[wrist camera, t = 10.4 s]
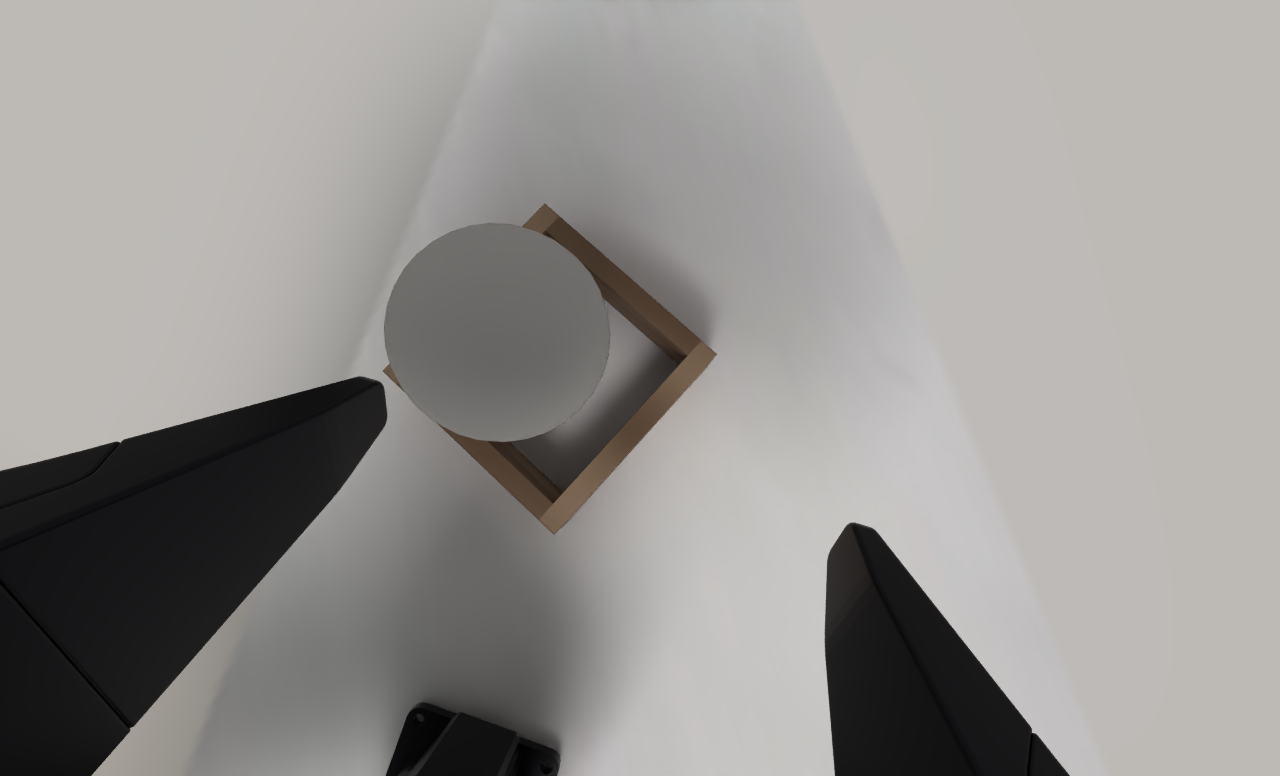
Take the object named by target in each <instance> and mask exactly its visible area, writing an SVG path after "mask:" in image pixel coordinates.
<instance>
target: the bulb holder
mask: <svg viewBox="0 0 1280 776" xmlns="http://www.w3.org/2000/svg"><path fill="white" fill-rule="evenodd" d="M522 228H526V229H530V230H533V231H536V232H539V233H541V234H543V235H545V236H547V237H549V238H551V239H553V240H555V241H556V242H558V243H559V244H560V245H562V246H563V247H564V248H566V249H567V250H568V251H570V252H571V253H572V254H573V255H574V256H575V257H577V258H578V260H579V261H580V262H581V263H582V264H583V265H584V266H585V268H586V269H587V270H588V271H589V272H590V274H591V275H592V277H593V279H594V281H595V282H596V284H597V286H598V288H599V289H600V292H601V295H602V297H603V298H604V299H605V300H606V301H607V302H609V303H610V304H611V305H612V306H613V307H614V308H615V309H617V310H618V311H619V312H620V313H621V314H622V315H623V316H624V317H626V318H627V319H628V320H629V321H630V322H631V323H632V324H633V325H635V326H636V327H637V328H638V329H639V330H640V331H641V332H642V333H644V334H645V335H646V336H647V337H648V338H649V339H650V340H652V341H653V342H654V343H655V344H656V345H657V346H658V347H659V348H661V349H662V350H663V351H664V352H665V353H666V354H667V355H668V356H670V357H671V358H672V359H673V360H674V361H675V362H676V363H677V364H679V366H678V367H677V368H676V369H675V370H674V371H673V372H672V374H671V375H670V376H669V377H668V378H667V379H666V380H665V381H664V382H663V383H662V385H661V386H660V387H659V388H658V389H657V390H656V391H655V392H654V393H653V394H652V396H651V397H650V398H649V399H648V400H647V401H646V402H645V403H644V404H643V405H642V407H641V408H640V409H639V410H638V411H637V412H636V413H635V414H634V415H633V416H632V418H631V419H630V420H629V421H628V422H627V423H626V424H625V425H624V426H623V427H622V429H621V430H620V431H619V432H618V433H617V434H616V435H615V436H614V437H613V438H612V440H611V441H610V442H609V443H608V444H607V445H606V446H605V447H604V448H603V450H602V451H601V452H600V453H599V454H598V455H597V456H596V457H595V458H594V459H593V461H592V462H591V463H590V464H589V465H588V466H587V467H586V468H585V469H584V470H583V472H582V473H581V474H580V475H579V476H578V477H577V478H576V479H575V480H574V481H573V483H572V484H571V485H570V486H569V487H568V488H567V489H566V490H565V491H564V492H562V491H561V490H560V489H559V488H558V487H557V486H555V485H554V484H553V483H552V482H551V481H550V480H549V479H548V478H547V477H546V476H545V475H544V474H543V473H542V472H541V471H540V470H538V469H537V468H536V467H535V466H534V465H533V464H532V463H531V462H530V461H529V460H528V459H527V458H526V457H525V456H524V455H523V454H521V453H520V452H519V451H518V450H517V449H516V448H515V447H514V446H513V445H512V444H511V443H510V442H509V441H508V442H498V441H485V440H476V439H473V438H469V437H466V436H462V435H459V434H456V433H455V432H453V431H451V430H449V429H447V428H445V427H443V426H441V425H440V426H441V427H442V428H443V429H444V430H445V431H446V432H447V433H448V434H449V435H450V436H451V437H452V438H453V439H454V440H455V441H456V442H457V443H458V444H459V445H460V446H462V447H463V448H464V449H465V450H466V451H467V452H468V453H469V454H470V455H471V456H472V457H473V458H474V459H475V460H476V461H477V462H478V463H479V464H480V465H481V466H482V467H484V468H485V469H486V470H487V471H488V472H489V473H490V474H491V475H492V476H493V477H494V478H495V479H496V480H497V481H498V482H499V483H500V484H501V485H502V486H503V487H504V488H506V489H507V490H508V491H509V492H510V493H511V494H512V495H513V496H514V497H515V498H516V499H517V500H518V501H519V502H520V503H521V504H522V505H523V506H524V507H525V508H526V509H528V510H529V511H530V512H531V513H532V514H533V515H534V516H535V517H536V518H537V519H538V520H539V521H540V522H541V523H542V524H543V525H544V526H545V527H546V528H547V529H548V530H550V531H551V532H552V533H553V534H555V533H556V532H557V531H558V530H559V529H561V528H562V527H563V526H564V525H565V524H566V523H567V522H568V521H569V519H570V518H571V517H572V516H573V515H574V514H575V513H576V512H577V511H578V509H579V508H580V507H581V506H582V505H583V504H584V503H585V502H586V501H587V499H588V498H589V497H590V496H591V495H592V494H593V493H594V492H595V491H596V490H597V488H598V487H599V486H600V485H601V484H602V483H603V482H604V481H605V480H606V478H607V477H608V476H609V475H610V474H611V473H612V472H613V471H614V470H615V468H616V467H617V466H618V465H619V464H620V463H621V462H622V461H623V460H624V458H625V457H626V456H627V455H628V454H629V453H630V452H631V451H632V450H633V448H634V447H635V446H636V445H637V444H638V443H639V442H640V441H641V440H642V438H643V437H644V436H645V435H646V434H647V433H648V432H649V431H650V430H651V429H652V427H653V426H654V425H655V424H656V423H657V422H658V421H659V420H660V419H661V417H662V416H663V415H664V414H665V413H666V412H667V411H668V410H669V409H670V407H671V406H672V405H673V404H674V403H675V402H676V401H677V400H678V399H679V397H680V396H681V395H682V394H683V393H684V392H685V391H686V390H687V389H688V387H689V386H690V385H691V384H692V383H693V382H694V381H695V380H696V379H697V377H698V376H699V375H700V374H701V373H702V372H703V371H704V370H705V369H706V368H707V366H708V365H709V364H710V363H711V361H712V360H713V359H714V357H715V356H716V355H717V354H716V353H715V352H714V351H713V350H712V349H711V348H709V347H708V346H707V345H706V344H705V343H704V342H703V341H701V340H700V339H699V338H698V337H697V336H696V335H695V334H693V333H692V332H691V331H690V330H689V329H688V328H687V327H685V326H684V325H683V324H682V323H681V322H680V321H679V320H677V319H676V318H675V317H674V316H673V315H672V314H671V313H669V312H668V311H667V310H666V309H665V308H664V307H663V306H661V305H660V304H659V303H658V302H657V301H656V300H655V299H653V298H652V297H651V296H650V295H649V294H648V293H647V292H645V291H644V290H643V289H642V288H641V287H640V286H639V285H637V284H636V283H635V282H634V281H633V280H632V279H631V278H629V277H628V276H627V275H626V274H625V273H624V272H623V271H621V270H620V269H619V268H618V267H617V266H616V265H615V264H613V263H612V262H611V261H610V260H609V259H608V258H607V257H605V256H604V255H603V254H602V253H601V252H600V251H599V250H597V249H596V248H595V247H594V246H593V245H592V244H591V243H589V242H588V241H587V240H586V239H585V238H584V237H583V236H581V235H580V234H579V233H578V232H577V231H576V230H575V229H573V228H572V227H571V226H570V225H569V224H568V223H567V222H565V221H564V220H563V219H562V218H561V217H560V216H559V215H557V214H556V213H555V212H554V211H553V210H552V209H551V208H549V207H548V206H547V205H546V204H544V205H543V206H542V207H541V208H540V209H539V210H538V211H537V212H536V213H535V214H534V215H533V216H532V217H531V218H530V219H529V220H528V221H527V222H526V223H525V224H524V225H523V226H522ZM383 372H384V373H385V374H386V375H387V376H388V377H389V378H390V379H391V380H392V381H393V382H394V383H396V384H397V385H398V386H399V387H400V388H401V389H402V387H401V385H400V384H399V382H398V380H397V378H396V376H395V374H394V372H393V370H392V368H391V366H390V364H389V365H388V366H387V367H386V368H385V369H384V370H383ZM402 390H403V389H402ZM437 424H438V423H437ZM438 425H439V424H438Z"/></svg>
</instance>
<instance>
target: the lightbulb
mask: <svg viewBox="0 0 1280 776" xmlns="http://www.w3.org/2000/svg"><path fill="white" fill-rule="evenodd" d="M384 333H385V347H386V351H387V355H388V358H389V362H390V366H391V368H392V370H393V372H394V374H395V376H396V378H397V380H398V382H399V384H400V385H401V387H402V389H403V391H404V392H405V393H406V394H407V396H408V397H409V398H410V399H411V401H412V402H413V403H414V404H415V406H416V407H417V408H419V409H420V410H421V411H422V412H423V413H425V414H426V415H427V416H428V417H430V418H431V419H432V420H433V421H435V422H436V423H438V424H439V425H441V426H443V427H445V428H447V429H449V430H451V431H453V432H455V433H456V434H459V435H462V436H466V437H469V438H473V439H476V440H485V441H498V442H508V441H516V440H525V439H529V438H532V437H535V436H538V435H541V434H544V433H547V432H548V431H550V430H552V429H554V428H555V427H557V426H559V425H561V424H563V423H564V422H566V421H567V420H568V419H569V418H570V417H571V416H573V415H574V414H575V413H576V412H577V411H579V410H580V409H581V408H582V406H583V405H584V404H585V403H586V401H587V400H588V399H589V398H590V396H591V395H592V394H593V392H594V390H595V389H596V387H597V385H598V383H599V381H600V379H601V377H602V375H603V372H604V369H605V365H606V362H607V359H608V355H609V344H610V328H609V319H608V313H607V310H606V307H605V304H604V301H603V298H602V295H601V292H600V289H599V288H598V286H597V284H596V282H595V281H594V279H593V277H592V275H591V274H590V272H589V271H588V270H587V269H586V268H585V266H584V265H583V264H582V263H581V262H580V261H579V260H578V258H577V257H575V256H574V255H573V254H572V253H571V252H570V251H568V250H567V249H566V248H564V247H563V246H562V245H560V244H559V243H558V242H556V241H555V240H553V239H551V238H549V237H547V236H545V235H543V234H541V233H539V232H536V231H533V230H530V229H526V228H522V227H518V226H514V225H511V224H496V223H487V224H479V225H471V226H467V227H464V228H461V229H458V230H455V231H452V232H450V233H448V234H446V235H444V236H442V237H440V238H438V239H436V240H435V241H433V242H431V243H430V244H429V245H428V246H426V247H425V248H424V249H423V250H421V251H420V252H419V253H418V254H416V256H415V257H414V258H413V259H412V260H411V261H410V263H409V264H408V265H407V266H406V267H405V268H404V270H403V272H402V273H401V275H400V277H399V278H398V280H397V282H396V284H395V285H394V287H393V290H392V293H391V296H390V299H389V302H388V305H387V309H386V317H385V324H384Z"/></svg>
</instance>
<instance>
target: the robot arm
mask: <svg viewBox="0 0 1280 776" xmlns="http://www.w3.org/2000/svg"><path fill="white" fill-rule="evenodd" d="M386 421H387V408H386V399H385V391H384V386H383V385H382V383H381V382H379V381H376V380H373V379H370V378H366V377H361V376H360V377H355V378H351V379H347V380H344V381H340V382H336V383H332V384H329V385H325V386H321V387H317V388H314V389H310V390H306V391H303V392H299V393H295V394H291V395H288V396H284V397H281V398H277V399H273V400H269V401H265V402H262V403H258V404H254V405H251V406H247V407H244V408H239V409H236V410H232V411H228V412H224V413H221V414H217V415H213V416H210V417H206V418H202V419H198V420H195V421H191V422H187V423H184V424H180V425H176V426H173V427H169V428H165V429H162V430H158V431H154V432H150V433H147V434H143V435H139V436H135V437H132V438H128V439H124V440H123V441H122V442H121V443H120V442H113V443H109V444H105V445H102V446H98V447H94V448H91V449H87V450H83V451H80V452H75V453H71V454H68V455H64V456H60V457H56V458H52V459H48V460H44V461H41V462H37V463H32V464H28V465H24V466H19V467H15V468H11V469H6V470H2V471H0V776H91V775H92V774H93V773H94V772H95V771H96V769H97V768H98V767H99V766H100V765H101V764H102V762H104V761H105V759H106V758H107V757H108V756H109V755H110V754H111V752H112V751H113V750H114V749H115V748H116V747H117V746H118V744H119V743H120V742H121V741H122V740H123V739H124V737H125V736H126V735H127V734H128V733H129V732H130V728H131V727H133V726H135V724H136V723H137V722H138V721H139V720H140V719H141V717H142V716H143V715H144V714H145V713H146V712H147V711H148V710H149V708H150V707H151V706H152V705H153V704H154V703H155V701H156V700H157V699H158V698H159V697H160V695H162V693H163V692H164V691H165V690H166V689H167V688H168V687H169V685H170V684H171V683H172V682H173V681H174V680H175V679H176V677H177V676H178V675H179V674H180V673H181V672H182V671H183V669H184V668H185V667H186V666H187V665H188V664H189V662H190V661H191V660H192V659H193V658H194V657H195V656H196V654H197V653H198V652H199V651H200V650H201V649H202V648H203V646H204V645H205V644H206V643H207V642H208V641H209V640H210V638H211V637H212V636H213V635H214V634H215V633H216V632H217V630H218V629H219V628H220V627H221V626H222V625H223V623H224V622H225V621H226V620H227V619H228V618H229V617H230V616H231V614H232V613H233V612H234V611H235V610H236V608H237V607H238V606H239V605H240V604H241V603H242V602H243V600H244V599H245V598H246V597H247V596H248V595H249V594H250V593H251V591H252V590H253V589H254V588H255V587H256V586H257V584H258V583H259V582H260V581H261V580H262V579H263V578H264V577H265V575H266V574H267V573H268V572H269V571H270V570H271V568H272V567H273V566H274V565H275V564H276V563H277V562H278V560H279V559H280V558H281V557H282V556H283V555H284V554H285V552H286V551H287V550H288V549H289V548H290V547H291V546H292V544H293V543H294V542H295V541H296V540H297V539H298V538H299V536H300V535H301V534H302V533H303V532H304V531H305V530H306V528H307V527H308V526H309V525H310V524H311V523H312V521H313V520H314V519H315V518H316V517H317V516H318V515H319V513H320V512H321V511H322V510H323V509H324V508H325V507H326V505H327V504H328V503H329V502H330V501H331V500H332V498H333V497H334V496H335V495H336V494H337V492H338V491H339V490H340V489H341V487H342V486H343V485H344V483H345V482H346V481H347V479H348V478H349V476H350V475H351V474H352V472H353V471H354V469H355V468H356V466H357V465H358V464H359V462H360V461H361V459H362V458H363V457H364V455H365V454H366V452H367V451H368V449H369V448H370V447H371V445H372V444H373V442H374V441H375V439H376V438H377V437H378V435H379V434H380V432H381V431H382V429H383V428H384V426H385V424H386ZM825 657H826V670H827V682H828V695H829V707H830V720H831V732H832V745H833V757H834V770H835V776H1070V775H1069V774H1068V773H1067V772H1066V770H1065V769H1064V768H1063V767H1062V766H1061V764H1060V763H1059V762H1058V761H1057V759H1056V758H1055V757H1054V755H1053V754H1052V753H1051V752H1050V750H1049V749H1048V748H1047V747H1046V745H1045V744H1044V743H1043V742H1042V740H1041V739H1040V738H1039V736H1038V735H1037V734H1035V733H1032V728H1031V727H1030V725H1029V724H1028V723H1027V721H1026V720H1025V719H1024V718H1023V716H1022V715H1021V714H1020V713H1019V711H1018V710H1017V709H1016V708H1015V706H1014V705H1013V704H1012V702H1011V701H1010V700H1009V699H1008V697H1007V696H1006V695H1005V694H1004V692H1003V691H1002V690H1001V689H1000V687H999V686H998V685H997V683H996V682H995V681H994V680H993V678H992V677H991V676H990V675H989V673H988V672H987V671H986V670H985V668H984V667H983V666H982V664H981V663H980V662H979V661H978V659H977V658H976V657H975V656H974V654H973V653H972V652H971V650H970V649H969V648H968V647H967V645H966V644H965V643H964V642H963V640H962V639H961V638H960V637H959V635H958V634H957V633H956V631H955V630H954V629H953V628H952V626H951V625H950V624H949V623H948V621H947V620H946V619H945V618H944V616H943V615H942V614H941V612H940V611H939V610H938V609H937V607H936V606H935V605H934V604H933V602H932V601H931V600H930V599H929V597H928V596H927V595H926V593H925V592H924V591H923V590H922V588H921V587H920V586H919V585H918V583H917V582H916V581H915V579H914V578H913V577H912V576H911V574H910V573H909V572H908V571H907V569H906V568H905V567H904V566H903V564H902V563H901V562H900V560H899V559H898V558H897V557H896V555H895V554H894V553H893V552H892V550H891V549H890V548H889V547H888V545H887V544H886V543H885V541H884V540H883V539H882V538H881V536H880V535H879V534H878V533H877V532H876V530H874V529H873V528H871V527H868V526H864V525H861V524H858V523H849V524H848V525H847V526H846V527H845V528H844V530H843V531H842V533H841V535H840V536H839V538H838V539H837V541H836V542H835V544H834V545H833V547H832V548H831V550H830V553H829V555H828V560H827V582H826V611H825ZM417 714H421V715H423V716H424V718H425V721H424V722H421V721H419V720H418V718H417ZM544 761H549V762H551V764H552V767H550V768H546V767H544V766H543V764H542V762H544ZM560 761H561V760H560V756H559V754H558V753H557V751H555V750H554V749H552V748H549V747H546V746H544V745H541V744H538V743H535V742H533V741H530V740H527V739H524V738H522V737H519V736H518V735H517V734H516V732H514V731H511V730H509V729H506V728H503V727H501V726H498V725H495V724H492V723H490V722H487V721H484V720H481V719H479V718H476V717H473V716H470V715H468V714H465V713H459V714H456V713H454V712H451V711H448V710H445V709H443V708H440V707H437V706H434V705H432V704H429V703H425V702H422V703H418V704H417V705H416V706H414V707H413V709H412V710H411V711H410V712H409V714H408V716H407V718H406V721H405V723H404V726H403V729H402V732H401V735H400V737H399V740H398V743H397V746H396V749H395V751H394V754H393V757H392V760H391V763H390V765H389V768H388V771H387V774H386V776H557V774H558V771H559V767H560Z"/></svg>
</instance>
